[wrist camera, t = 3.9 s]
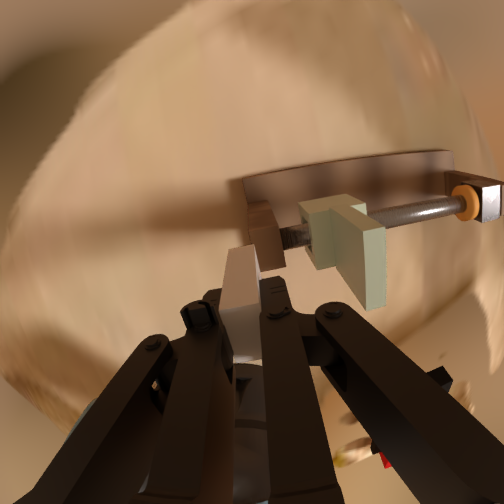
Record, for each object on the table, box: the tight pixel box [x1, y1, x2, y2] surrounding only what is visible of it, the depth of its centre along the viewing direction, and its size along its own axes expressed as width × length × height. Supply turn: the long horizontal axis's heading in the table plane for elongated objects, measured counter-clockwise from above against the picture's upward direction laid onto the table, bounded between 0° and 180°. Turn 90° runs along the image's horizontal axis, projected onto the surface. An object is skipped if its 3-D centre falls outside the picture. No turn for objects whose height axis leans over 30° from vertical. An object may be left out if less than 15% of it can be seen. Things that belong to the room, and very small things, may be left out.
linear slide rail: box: [242, 150, 504, 272], centre depth 23 cm, size 26×8×12 cm, turn 102°
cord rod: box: [279, 180, 500, 251], centre depth 19 cm, size 24×3×3 cm, turn 102°
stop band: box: [451, 185, 479, 221], centre depth 19 cm, size 1×3×3 cm, turn 12°
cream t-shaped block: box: [298, 194, 387, 311], centre depth 17 cm, size 4×4×10 cm
